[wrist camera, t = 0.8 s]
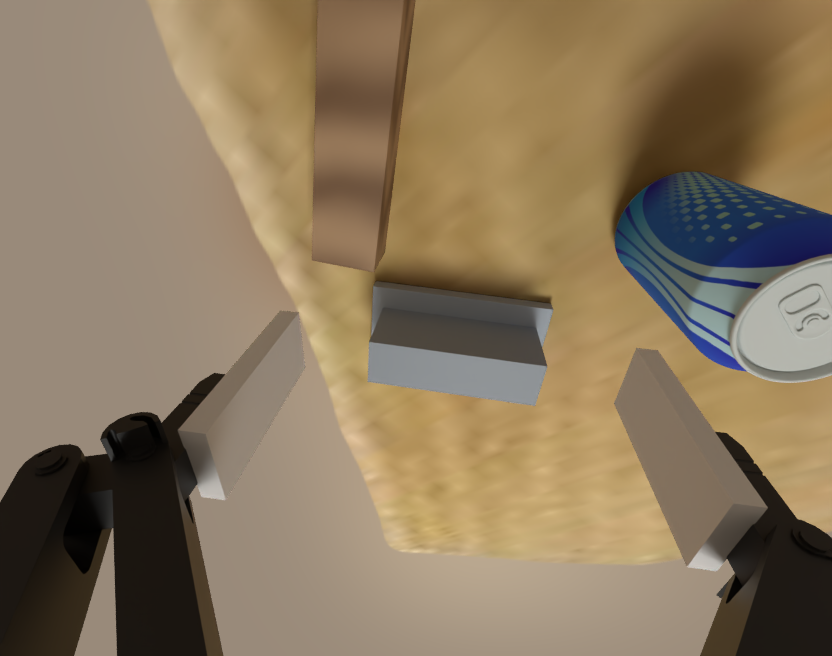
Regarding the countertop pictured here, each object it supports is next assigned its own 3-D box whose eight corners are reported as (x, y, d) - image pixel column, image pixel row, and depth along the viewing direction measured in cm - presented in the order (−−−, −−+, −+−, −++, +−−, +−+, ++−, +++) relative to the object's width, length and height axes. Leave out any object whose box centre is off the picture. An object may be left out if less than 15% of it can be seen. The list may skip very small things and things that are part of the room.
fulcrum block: (375, 280, 37) (357, 318, 31) (550, 303, 36) (567, 346, 30) (373, 352, 41) (355, 398, 35) (530, 374, 40) (541, 425, 34)
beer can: (744, 167, 29) (988, 232, 15) (706, 275, 33) (872, 402, 20) (622, 169, 30) (749, 232, 16) (600, 274, 34) (687, 394, 21)
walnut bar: (349, -149, 24) (322, -203, 19) (432, -135, 24) (424, -186, 19) (330, 240, 36) (311, 260, 32) (385, 251, 36) (373, 272, 32)
